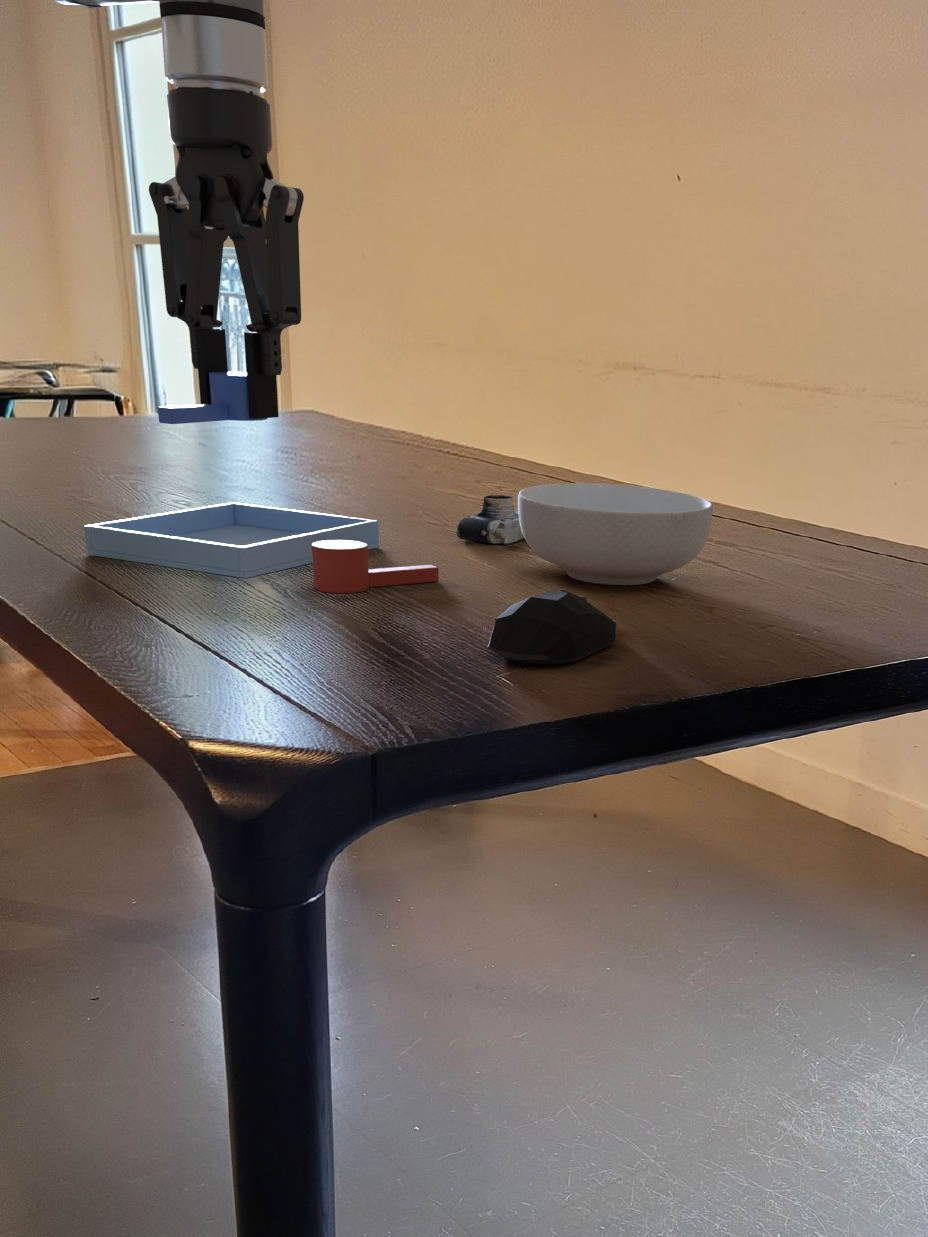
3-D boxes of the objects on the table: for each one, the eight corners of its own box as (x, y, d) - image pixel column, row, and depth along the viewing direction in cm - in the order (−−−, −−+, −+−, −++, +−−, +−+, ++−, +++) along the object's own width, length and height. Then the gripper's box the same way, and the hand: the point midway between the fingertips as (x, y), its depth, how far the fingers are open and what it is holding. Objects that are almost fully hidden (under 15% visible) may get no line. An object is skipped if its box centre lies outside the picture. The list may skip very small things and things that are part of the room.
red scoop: (327, 595, 103) (325, 550, 101) (305, 584, 106) (302, 541, 104) (447, 584, 109) (447, 542, 107) (423, 575, 112) (422, 534, 110)
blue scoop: (237, 415, 110) (234, 371, 109) (278, 419, 109) (276, 374, 107) (143, 421, 101) (139, 373, 100) (187, 425, 100) (183, 377, 98)
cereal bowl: (551, 599, 105) (552, 510, 102) (494, 562, 119) (494, 482, 116) (739, 593, 111) (745, 508, 108) (664, 558, 125) (668, 482, 122)
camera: (551, 534, 135) (552, 493, 133) (495, 547, 126) (495, 503, 124) (511, 528, 137) (511, 487, 135) (453, 541, 128) (452, 497, 127)
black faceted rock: (651, 632, 96) (654, 578, 94) (551, 675, 84) (552, 613, 82) (577, 620, 98) (579, 567, 97) (469, 660, 86) (469, 600, 84)
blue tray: (87, 554, 113) (83, 525, 112) (234, 527, 129) (232, 502, 128) (245, 578, 107) (243, 547, 106) (379, 547, 123) (378, 520, 122)
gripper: (342, 98, 98) (353, 421, 108) (166, 100, 105) (190, 404, 114) (277, 82, 92) (295, 426, 101) (94, 84, 98) (126, 408, 108)
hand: (240, 414), depth 108 cm, fingers closed on blue scoop, 4 cm apart
